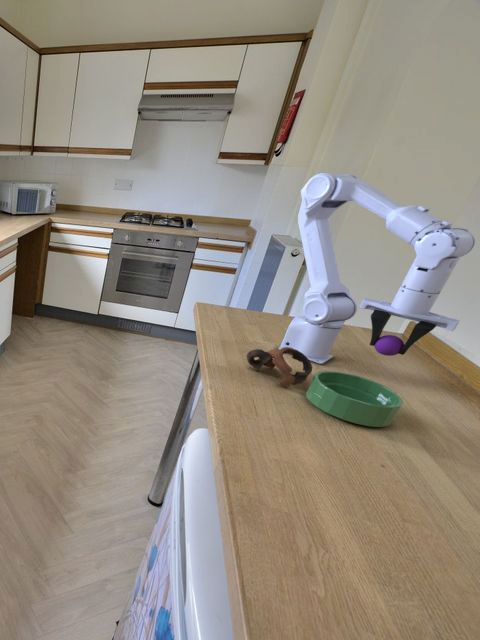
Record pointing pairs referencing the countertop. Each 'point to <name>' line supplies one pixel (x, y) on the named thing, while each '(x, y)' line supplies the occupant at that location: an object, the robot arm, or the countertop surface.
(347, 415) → the bowl
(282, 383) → the brown curved loop
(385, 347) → the ball
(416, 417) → the countertop surface
